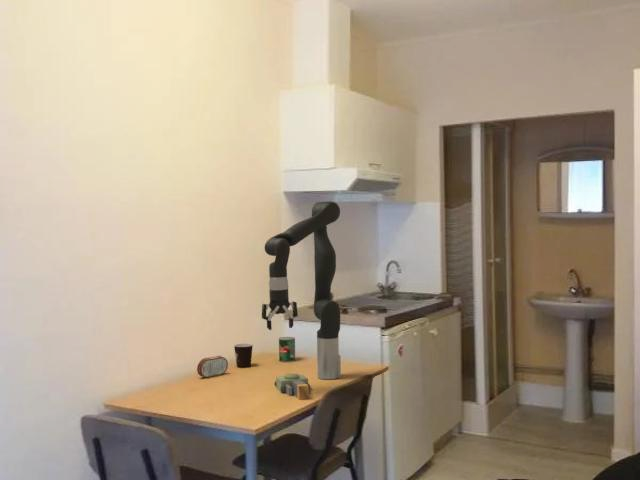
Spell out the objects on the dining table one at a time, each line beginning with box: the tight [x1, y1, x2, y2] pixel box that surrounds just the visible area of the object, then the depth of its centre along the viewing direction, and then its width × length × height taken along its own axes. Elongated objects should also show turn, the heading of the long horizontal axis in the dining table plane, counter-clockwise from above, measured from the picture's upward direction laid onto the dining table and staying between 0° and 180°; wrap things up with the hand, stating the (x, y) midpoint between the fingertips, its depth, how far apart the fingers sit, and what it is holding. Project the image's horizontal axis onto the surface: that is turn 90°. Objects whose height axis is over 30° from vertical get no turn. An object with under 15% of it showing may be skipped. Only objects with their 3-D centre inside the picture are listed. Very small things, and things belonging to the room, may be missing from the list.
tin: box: [196, 355, 229, 379], centre depth 295 cm, size 15×3×8 cm, turn 134°
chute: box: [292, 380, 309, 400], centre depth 257 cm, size 4×10×5 cm, turn 18°
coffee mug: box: [233, 343, 253, 369], centre depth 316 cm, size 12×9×10 cm
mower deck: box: [273, 373, 311, 397], centre depth 267 cm, size 12×15×6 cm
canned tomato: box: [278, 336, 296, 363], centre depth 326 cm, size 8×8×11 cm
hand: (280, 328), depth 269 cm, fingers open, 8 cm apart
